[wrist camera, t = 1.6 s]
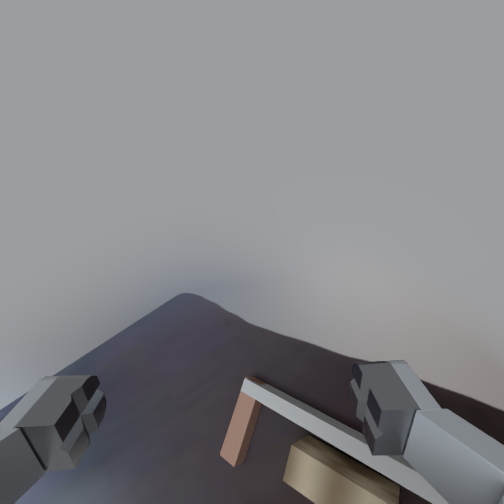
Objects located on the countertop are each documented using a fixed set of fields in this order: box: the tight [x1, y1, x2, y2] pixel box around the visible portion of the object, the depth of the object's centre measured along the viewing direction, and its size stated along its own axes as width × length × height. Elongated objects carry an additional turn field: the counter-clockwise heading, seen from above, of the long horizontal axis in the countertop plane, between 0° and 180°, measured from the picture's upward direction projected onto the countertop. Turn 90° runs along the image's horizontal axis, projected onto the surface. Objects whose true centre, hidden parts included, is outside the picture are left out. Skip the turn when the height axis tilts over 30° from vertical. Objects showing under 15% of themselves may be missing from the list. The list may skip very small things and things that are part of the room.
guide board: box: [220, 377, 449, 504], centre depth 34 cm, size 28×12×4 cm, turn 68°
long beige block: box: [283, 435, 400, 504], centre depth 31 cm, size 12×4×7 cm, turn 70°
